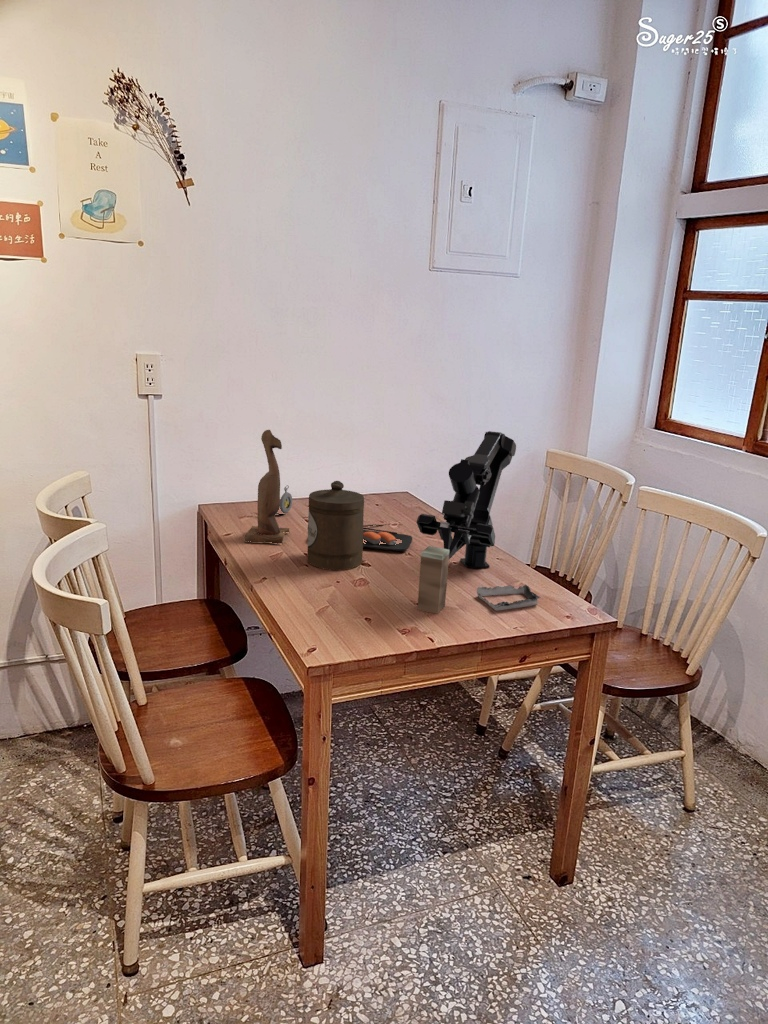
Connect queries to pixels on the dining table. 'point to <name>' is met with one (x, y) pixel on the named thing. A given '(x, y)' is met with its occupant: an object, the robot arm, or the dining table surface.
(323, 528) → the wooden container
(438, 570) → the grey-green metal block
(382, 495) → the dining table surface
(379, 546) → the sushi plate
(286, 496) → the pocket watch
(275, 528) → the bird sculpture
